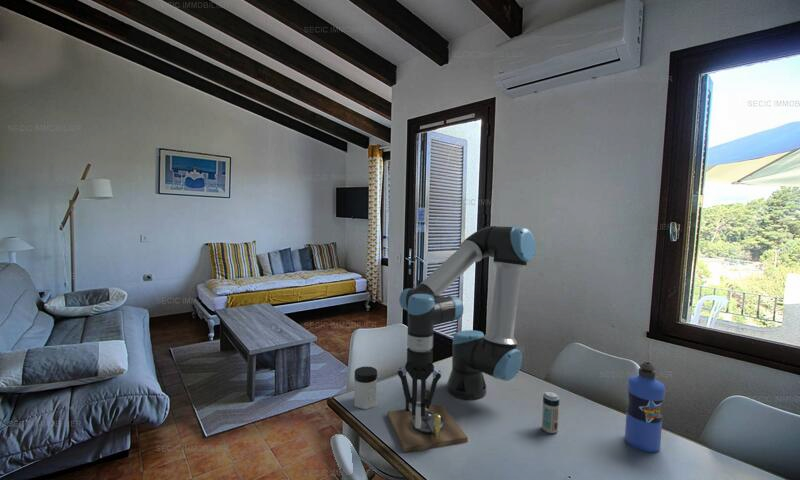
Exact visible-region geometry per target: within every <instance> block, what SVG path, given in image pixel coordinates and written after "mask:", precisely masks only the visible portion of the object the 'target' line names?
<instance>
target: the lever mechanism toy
mask: <svg viewBox="0 0 800 480" xmlns="http://www.w3.org/2000/svg"><path fill="white" fill-rule="evenodd" d="M429 392H430V389H426V398H428V395H429ZM425 410H426V411H430V412H432V413H435V414H436V413H438V414H440V415H441V417H442V419H443V420H444V427H443V429H442V430H441V431H440V438H434V437H433V435H432V434H426V433H421V432H419V431H417V430H415V429H414V428H413V426H412V418H413V417H414V416H413V415H412V407H411V408H410V403H406V402H405V408H404V409H396V410H389V411H388V410H387V411H386V416H387V418H388V420H389V423H390V425H391V427H392V429H393V432H394V434H395V436H396V438H397V440H398V442H399V444H400V446H401V449H402V451H403V453H404V454H406V453H412V452H416V451H417V452H418V451H421V450H423V451H424V450H428V449H434V448H441V447H446V446H451V445H458V444H459V445H460V444H463V443H468V440H469V438H468V436H467V435H466V433H465V432H464V431H463V429H462V428H461V426H460V425H459V424H458V423H457V421H456V420H455V418H454V417H453V416H452V415H451V414H450V412H449V411H448V410H447V409H446V407H445V406H444V404H443V403H440V404H431V405H426V406H425Z"/></svg>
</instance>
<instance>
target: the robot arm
mask: <svg viewBox="0 0 800 480" xmlns="http://www.w3.org/2000/svg"><path fill="white" fill-rule="evenodd" d="M536 247H537V245H536V240H535V237H534V235H533V233H532V232H531V230H530V229H528V228H527V227H526V228H525V227H518V226H497V225H491V226H490V225H489V226H486V227H482V228H480V229H479V230H476V231H475V232H473V233H472V234H470V235H469V236H467V237H466V238H465V239H464V240H462V242H461V244H460V247H459V248H458V249H457V250H455V252H454V253H453V254H452V255H450V256H448V258H447V259H445V260H444V261H443V263H441V264H440V265H439V266H438V267H437V268H436V269H435V270H434V271H433V272H431V273H430V274H429V275H428V276H427V277H426V278H425V279H424V280H422V281H421V282H420V283H419V284H418V285H417V286H415V288H412V287H411V288H410V287H409V288H405V289H403V290H402V292H401V293H400V295H399V305H400V307H401V309H403V310H404V311H406V312H407V341H406V343H407V345H406V346H407V348H406V363H405V365H404V366H403V367H399V368H398V370H397V375H398V377H399V378H400V382H401V385H402V389H403V394H404V400H405V404H406V403H409V405H411V408H412V415H413V416H416V418H415V428H420V427H421V416H424V415H425V406H426V405H429V406H432V402H433V398H434V394H435V391H436V387H437V385H438V382H439V380H440V379H441V377H442V371H441V370H437V369H436V368H435V365H434V361H433V359H434V357H433V356H434V355H433V354H434V349H433V348H434V326H437V325H441V324H446V323H449V322H454V321H456V320H459V319H461V318H462V316H463V314H464V304H463V303H464V302H463V301H462V300H461V299H460V297H458V296H455V295H447V296H441V295H442V294H443V293H444V292H445V291H447V289H448V288H449V287H450V286H452V284H454V282H456V281H457V280H458V278H459V277H461V276H462V275H463V274H464V273H465V272H466V271H467V270H468V269H469V268H470V267H471V266H472V265H473V264H474V263H478V262H480V261H482V260H483V259H485V258H488V257H489V258H490V257H491V258H493V260H492V262H493V264H494V265H495V266H496V271H495V280H494V287H493V288H494V289H493V296H492V303H491V311H490V320H489V321H490V322H489V326H488V327H489V328H488V333H486V334H484V332H483V331H480V330H472V329H471V330H469V329H468V330H466V329H465V330H461V331H457V332H456V333H454V335H453V337H452V352H451V353H452V359H451V362H452V363H451V371H450V374H449V377H448V380H447V384H446V390H447V392H448V393H449V394H450V395H452V396H454V397H455V398H458V399H462V400H478V399H483V398H484V397H485V396H486V394H487V383H486V380H485V377H484V374H486V375H488V376H489V377H490V376H491V377H493V378H494V379H498V380H501V381H504V382H509V381H511V380H512V379H514V378H515V377H516V376H517V374H518V373H519V371H520V369H521V367H522V362H523V354H522V352H521V350H519V349H518V347H517V346H518V342H517V340H516V338H515V337H514V335H515V326H516V317H517V310H518V309H517V307H518V303H519V302H518V301H519V294H520V286H521V277H522V271H523V270H524V269H525V268H526V267H527V265H528V262H530V261H532V260H533V259H534V256H535V254H536V249H537V248H536ZM407 373H408V375H409V376H410V377H411V380H412V382H411V385H412V388H411V391H412V392H411V393H410V387H409V382H408V379H407ZM431 375H432V377H433V378H432V380H431V385H430V389H429V390H430V392H429V395H428V398H426V390H427V386H426V385H427V379H429V377H430V376H431ZM418 380H419V381H420V384H421V385H420V401H421V402H419V401H418Z"/></svg>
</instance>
